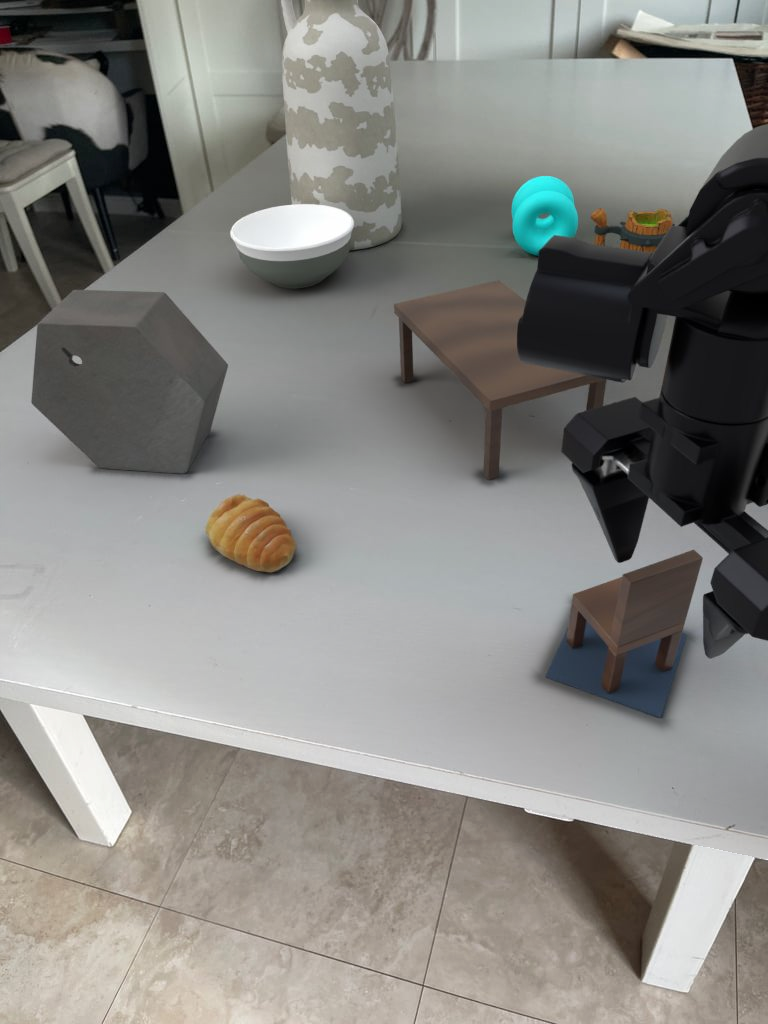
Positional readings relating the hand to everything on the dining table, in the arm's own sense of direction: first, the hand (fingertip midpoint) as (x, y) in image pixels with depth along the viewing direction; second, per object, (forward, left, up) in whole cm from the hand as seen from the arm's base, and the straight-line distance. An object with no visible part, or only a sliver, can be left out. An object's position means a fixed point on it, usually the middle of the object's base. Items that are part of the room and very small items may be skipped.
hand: (665, 604), depth 52 cm
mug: (+20, -74, -13) cm, 78 cm away
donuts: (+37, -85, -13) cm, 94 cm away
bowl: (+68, -60, -13) cm, 92 cm away
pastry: (+38, -5, -13) cm, 41 cm away
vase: (+71, -80, -13) cm, 108 cm away
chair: (+3, -6, -13) cm, 14 cm away
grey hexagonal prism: (+58, -13, -13) cm, 61 cm away
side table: (+26, -36, -13) cm, 46 cm away
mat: (+3, -6, -13) cm, 15 cm away
